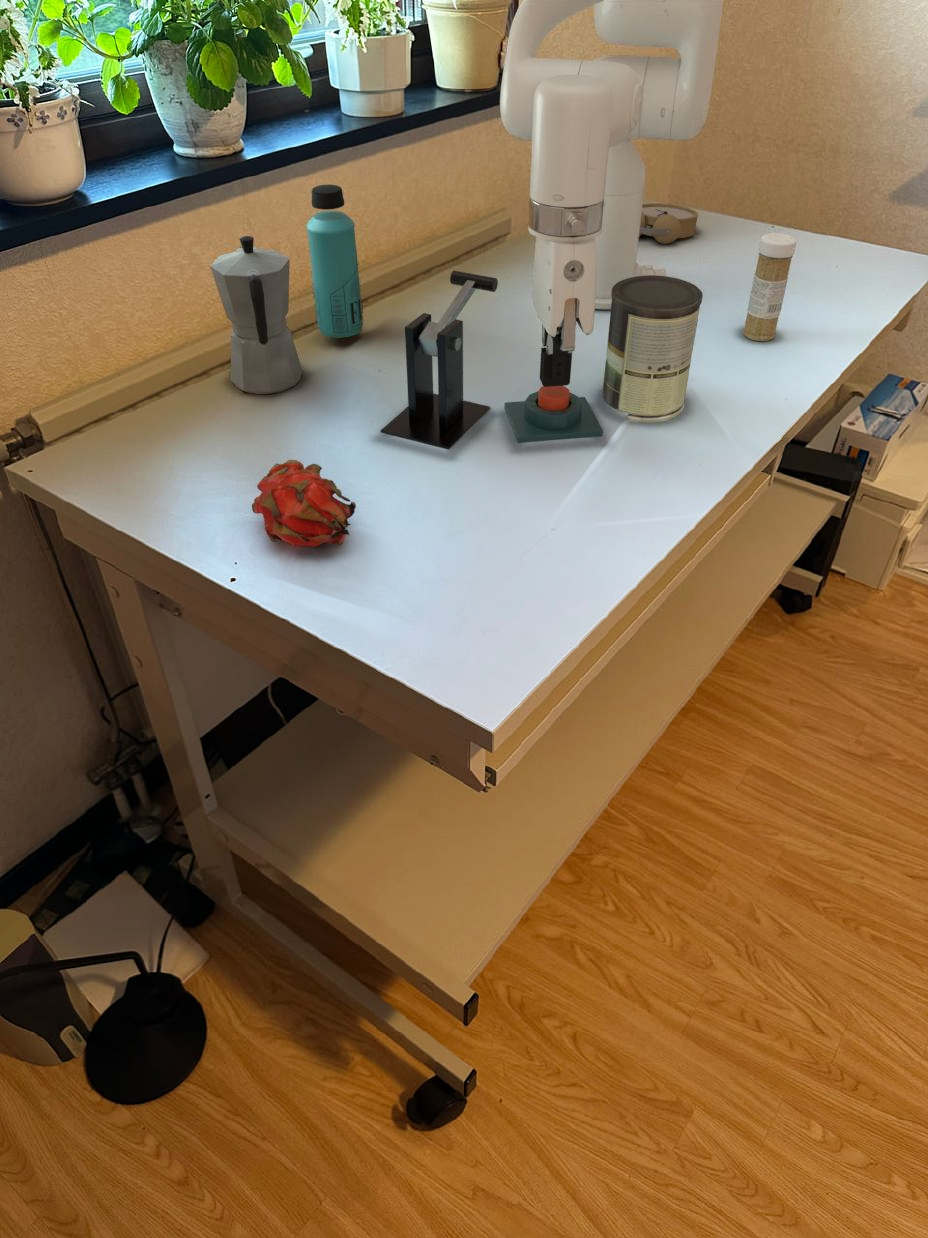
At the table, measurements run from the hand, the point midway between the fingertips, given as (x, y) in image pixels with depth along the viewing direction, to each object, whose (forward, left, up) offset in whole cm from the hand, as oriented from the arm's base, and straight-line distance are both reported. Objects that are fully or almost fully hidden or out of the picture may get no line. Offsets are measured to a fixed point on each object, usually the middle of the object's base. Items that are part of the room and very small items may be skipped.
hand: (554, 382), depth 107 cm
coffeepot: (+33, -18, -6) cm, 38 cm away
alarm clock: (-34, -65, -6) cm, 73 cm away
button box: (0, 0, -6) cm, 6 cm away
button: (0, 0, -3) cm, 3 cm away
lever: (+10, -7, +5) cm, 14 cm away
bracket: (+13, -3, -6) cm, 15 cm away
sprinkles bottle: (-35, -22, -6) cm, 41 cm away
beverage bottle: (+23, -30, -6) cm, 38 cm away
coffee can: (-13, -5, -6) cm, 15 cm away
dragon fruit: (+29, +18, -6) cm, 35 cm away
